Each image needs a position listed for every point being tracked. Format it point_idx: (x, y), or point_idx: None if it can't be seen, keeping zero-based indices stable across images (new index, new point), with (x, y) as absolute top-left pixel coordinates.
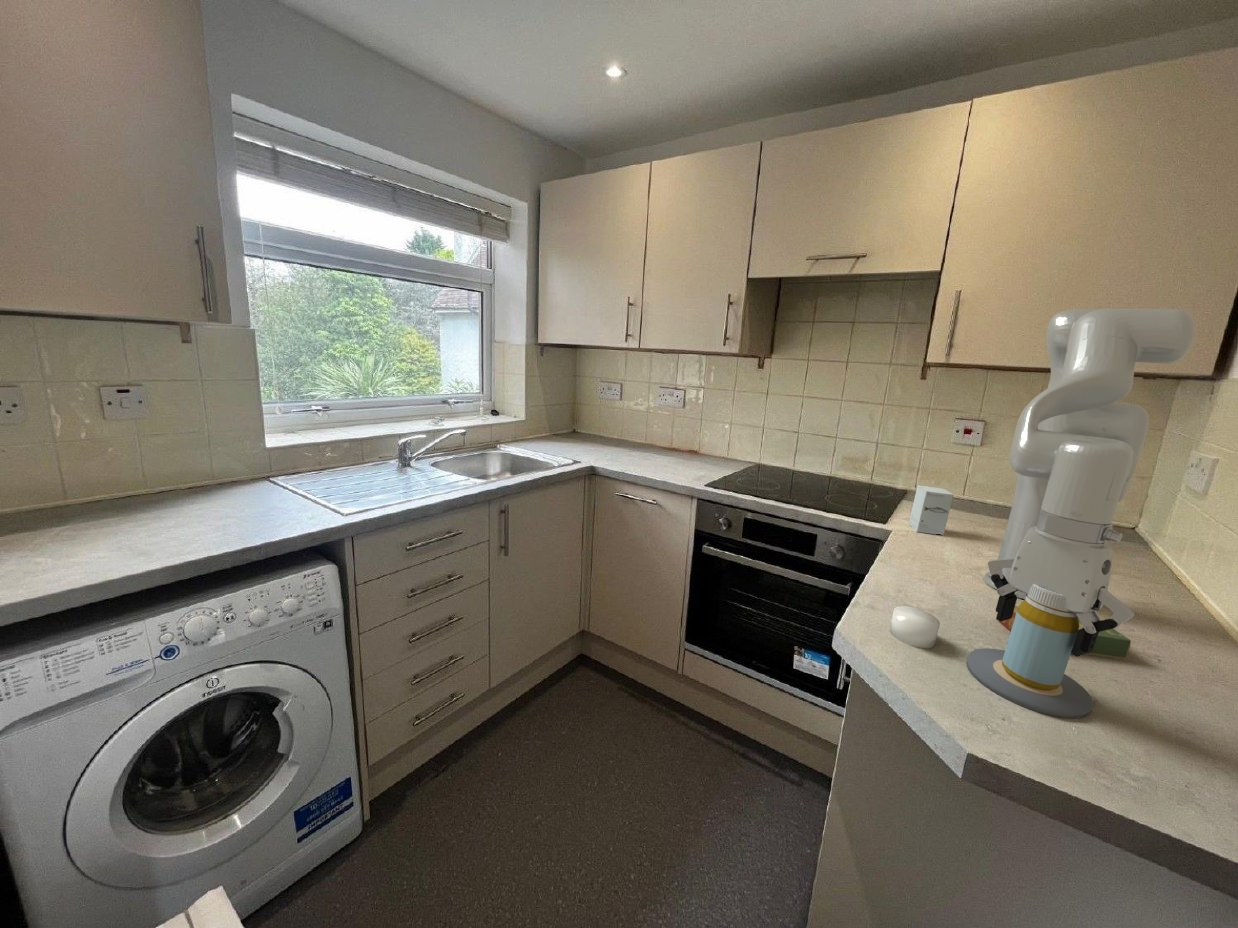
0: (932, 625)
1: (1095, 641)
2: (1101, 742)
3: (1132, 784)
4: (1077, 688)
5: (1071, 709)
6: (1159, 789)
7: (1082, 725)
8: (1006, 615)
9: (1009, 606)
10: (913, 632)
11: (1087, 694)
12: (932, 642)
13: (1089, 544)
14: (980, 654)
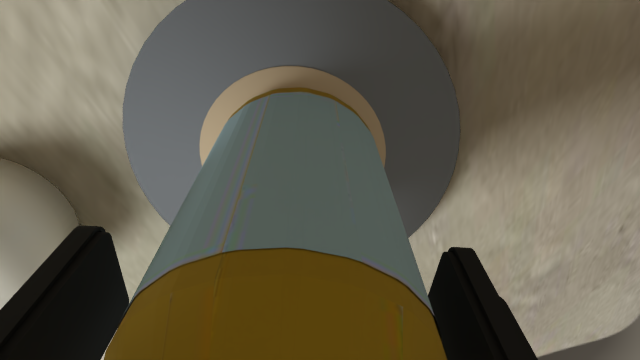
0: (17, 273)
1: (526, 346)
2: (485, 234)
3: (532, 302)
4: (409, 60)
5: (423, 209)
6: (572, 279)
7: (447, 209)
8: (108, 299)
9: (74, 350)
10: None
11: (440, 71)
12: (66, 229)
13: None
14: (154, 161)
